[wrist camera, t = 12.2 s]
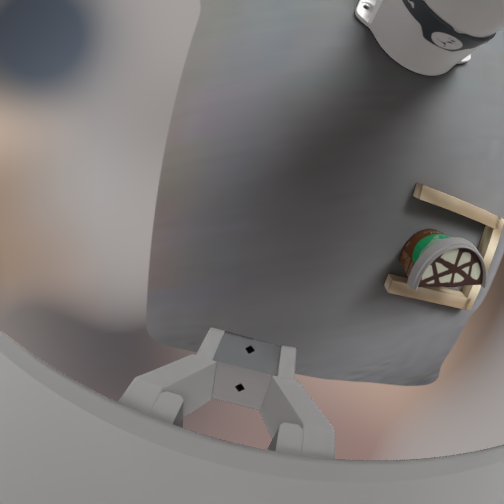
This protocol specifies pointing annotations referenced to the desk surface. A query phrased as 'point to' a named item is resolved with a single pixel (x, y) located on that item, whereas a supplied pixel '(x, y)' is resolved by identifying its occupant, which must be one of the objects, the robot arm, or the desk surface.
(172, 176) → the desk surface
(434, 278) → the food container
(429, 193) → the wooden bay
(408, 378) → the desk surface
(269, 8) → the desk surface
